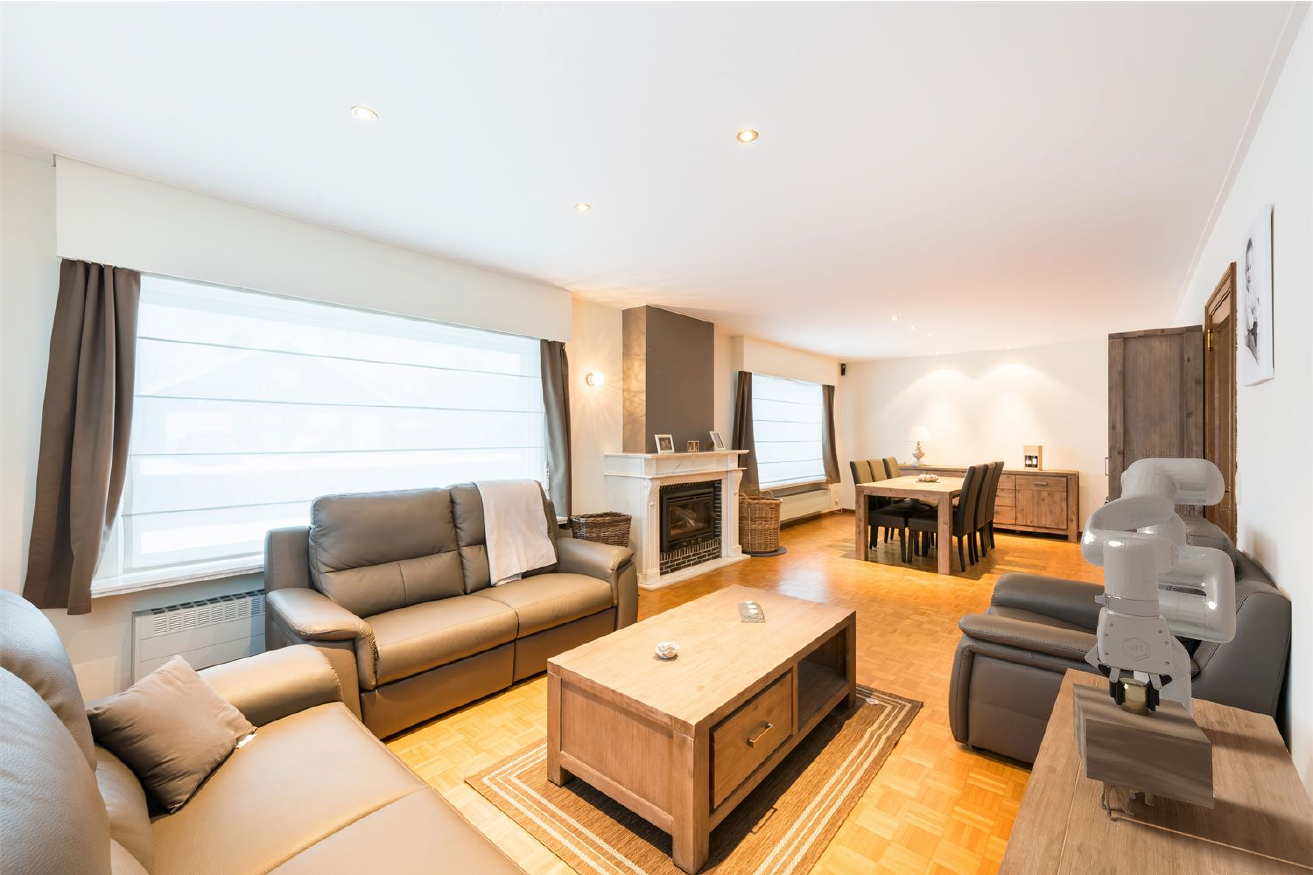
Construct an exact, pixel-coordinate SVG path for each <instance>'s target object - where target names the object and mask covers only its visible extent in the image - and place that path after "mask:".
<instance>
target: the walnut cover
mask: <svg viewBox="0 0 1313 875" xmlns="http://www.w3.org/2000/svg"><path fill="white" fill-rule="evenodd" d="M1119 682H1120V683H1121V687H1122V705H1117V704H1116V702H1115V700H1114V698H1112V697H1110V693H1109V689H1107V688H1101V687H1097V686H1090V685H1084V684H1079V683H1075V682H1074V683H1073V682H1072V710H1073V712H1072V715H1073V716H1072V717H1073V737H1074V740H1075V743H1076V746H1077V749H1078V752H1079V756H1080V758H1081V763H1082V766H1083V769H1084V772H1085V776H1086V778H1087V779H1090V780H1095V781H1099V782H1102V783H1104V782H1106V783H1110V784H1114V785H1118V786H1122V787H1126V788H1130V789H1134V790H1138V791H1140V792H1143V793H1145V792H1146V793H1150V794H1153V796H1154V795H1155V796H1159V797H1164V798H1168V799H1171V800H1174V801H1175V800H1176V801H1180V802H1184V803H1187V804H1191V805H1196V806H1199V807H1203V808H1208V809H1212V810H1214V809H1215V808H1214V806H1215V805H1214V800H1215V799H1214V797H1213V794H1214V779H1213V778H1214V774H1213V744H1212V742H1211V741H1210V739H1209V738H1208V736H1207V735H1206V734H1205V732H1203V730H1202V729H1201V727H1200V726H1199V725H1198V723H1197V722H1196V721H1195V719H1194V718H1193V716H1192V717H1191V715H1190V714H1189V713H1188V711H1187V710H1186V709H1185V707H1184V706H1183V705H1182V703H1181V702H1177V701H1171V700H1165V699H1160V698H1159V700H1160V705H1159V706H1156V712H1154V711H1151V710H1150V709H1149V695H1148V684H1146V683H1144V682H1142V681H1139V680H1136V679H1134V678H1131V677H1120V678H1119Z"/></svg>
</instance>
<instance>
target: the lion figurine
mask: <svg viewBox="0 0 1313 875" xmlns="http://www.w3.org/2000/svg"><path fill="white" fill-rule="evenodd" d="M1114 789H1115V791H1116V793H1117V794H1118V796H1119V798H1120V801H1121V805H1120V807H1121V808H1122V810H1123V811H1124V812H1125V814H1127V815H1130V816H1135V815H1136V813H1135V812H1134V811H1132V810H1130V809H1129V803H1130V799H1132V800H1133V799H1134V800H1135V799H1137V797H1136V793H1140V792H1141V791H1138V790H1134V789H1130V788H1126V787H1122V786H1118V785H1114V784H1110V783H1106V782H1103V786H1102V792H1101V793H1100V795H1099V796H1098V807H1099V808H1101V809H1105V810H1106V816H1107V817H1109V818H1111V816H1112V813H1113V812H1112V810H1111V805H1110V793H1111V792H1112V791H1113V790H1114ZM1144 793H1145V796H1144V797H1145V799H1144V803H1145V804H1146V805H1147V806H1150V807H1151V806H1153V807H1154V806H1155V804H1154V803H1153V802H1152V800H1153V796H1154V794H1150V793H1146V792H1144Z"/></svg>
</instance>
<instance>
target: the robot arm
mask: <svg viewBox="0 0 1313 875" xmlns="http://www.w3.org/2000/svg"><path fill="white" fill-rule="evenodd" d="M1224 480H1225V479H1224V477H1223V474H1222V473H1221V470H1220V469H1219V468H1218V466H1217V465H1216V464H1215V463H1214V462H1212V461H1210V460H1209V459H1208V460H1207V459H1204V458H1195V457H1194V458H1193V457H1191V458H1189V457H1188V458H1187V457H1186V458H1185V457H1184V458H1183V457H1182V458H1180V457H1179V458H1178V457H1177V458H1176V457H1175V458H1174V457H1148V458H1141V459H1139V460H1136V461H1134V462H1133V463H1131V464H1130V465H1129V467H1128V468H1127V469H1126V470H1124V471H1123V472H1122V473H1121V476H1120V485H1121V486H1120V487H1121V489H1122V490H1121V494H1120V497H1119V498H1117V499H1113V500H1112V501H1110V502H1107V503H1106V504H1104V505H1102V506H1100V507H1098V508H1096V509H1095V510H1094V511H1092V512H1091V513H1090V514H1089V516H1088V518H1087V519H1086V522H1085V524H1084V527H1083V531H1082V534H1081V539H1080V553H1081V556H1082V558H1083V559H1084V560H1085V562H1087V563H1088V564H1091V565H1092V566H1094V567H1095V566H1096V567H1100V568H1103V579H1104V580H1103V583H1104V591H1103V593H1102V595H1101V594H1099V595H1094V602H1095V603H1098V604H1100V605H1103V607H1101V608H1100V611H1099V614H1098V620H1097V628H1096V643H1095V645H1093V647H1091V649H1090V650H1089V651H1088V652H1087V653H1086V654H1085V656H1084V659H1085V661H1086V662H1087V663H1088V664H1090V665H1091V666H1092V667H1094V668H1096V669H1097V670H1098V671H1100V673H1102V674H1103V675H1104V676H1105V677H1106V678H1107V679H1108V685H1109V687H1108V688H1109V693H1110V697H1112V698H1114V700H1115V702H1116V704H1117V705H1122V687H1121V683H1120V682H1119V679H1120V678H1119V677H1120V676H1119V675H1120V673H1121V670H1125V671H1126V670H1127V671H1133V679H1136V680H1139V681H1142V682H1144V683H1146V684H1148V695H1149V709H1150V710H1151V711H1154V712H1156V706H1159V705H1160V700H1159V698H1160V699H1165V700H1171V701H1177V702H1181V703H1182V705H1183V706H1184V707H1185V709H1186V710H1187V711H1188V713H1189V714H1190V715H1191V717H1192V718H1193V713H1192V712H1193V709H1192V680H1191V679H1192V678H1191V677H1192V675H1191V658H1190V654H1189V653H1188V651H1187V649H1186V647H1185V646H1184V645H1183V644H1182V643H1181V642H1180V641H1179V640H1178V639H1177V638H1176V637H1183V638H1188V639H1193V640H1194V639H1195V640H1201V641H1205V642H1206V641H1207V642H1212V643H1218V644H1227V643H1230V642H1232V641H1233V640H1234V638H1235V636H1236V634H1237V633H1236V632H1237V610H1236V609H1237V608H1236V607H1237V606H1236V604H1237V603H1236V602H1237V601H1236V577H1235V576H1236V575H1235V568H1234V564H1233V561H1232V558H1231V557H1230V555H1229V554H1228V553H1227V552H1225V551H1223V550H1221V549H1218V548H1215V547H1210V546H1209V547H1208V546H1197V545H1188V543H1187V526H1186V525H1187V524H1186V523H1185V521H1184V520H1183V519H1182V518H1181V517H1180V516H1179V514H1178V513H1177V512H1175V504H1176V505H1194V506H1195V505H1197V506H1214V505H1217V504H1219V503H1220V502H1222V500H1223V498H1224V496H1225V489H1226V484H1225V481H1224ZM1130 530H1131V531H1130ZM1132 530H1136V531H1135V532H1134V531H1132ZM1159 584H1160V585H1166V586H1174V587H1180V588H1181V587H1182V588H1188V589H1197V590H1200V591H1202V592H1203V593H1205V595H1200V594H1192V593H1187V592H1186V593H1185V592H1180V591H1173V590H1167V589H1159ZM1098 658H1099V660H1098Z"/></svg>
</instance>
